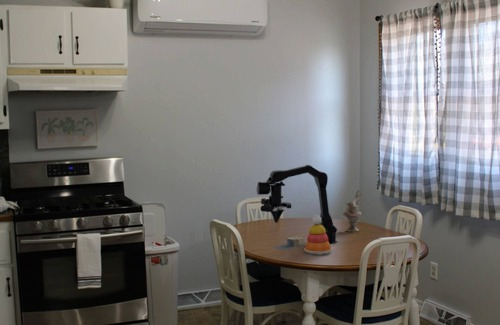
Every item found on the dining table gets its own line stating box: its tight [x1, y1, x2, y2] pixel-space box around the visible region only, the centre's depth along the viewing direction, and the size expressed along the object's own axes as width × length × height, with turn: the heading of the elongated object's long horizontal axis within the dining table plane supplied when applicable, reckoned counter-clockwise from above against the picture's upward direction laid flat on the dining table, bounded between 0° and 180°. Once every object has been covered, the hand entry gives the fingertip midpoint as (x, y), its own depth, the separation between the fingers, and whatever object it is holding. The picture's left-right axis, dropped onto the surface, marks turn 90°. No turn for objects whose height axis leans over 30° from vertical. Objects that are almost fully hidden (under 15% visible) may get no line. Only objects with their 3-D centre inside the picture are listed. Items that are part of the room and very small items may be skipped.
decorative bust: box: [342, 190, 363, 232], centre depth 334 cm, size 11×13×25 cm
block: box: [286, 236, 305, 246], centre depth 299 cm, size 5×4×8 cm
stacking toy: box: [303, 214, 333, 256], centre depth 282 cm, size 14×14×20 cm
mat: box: [272, 242, 307, 251], centre depth 297 cm, size 10×20×1 cm, turn 133°
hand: (276, 222), depth 298 cm, fingers closed
